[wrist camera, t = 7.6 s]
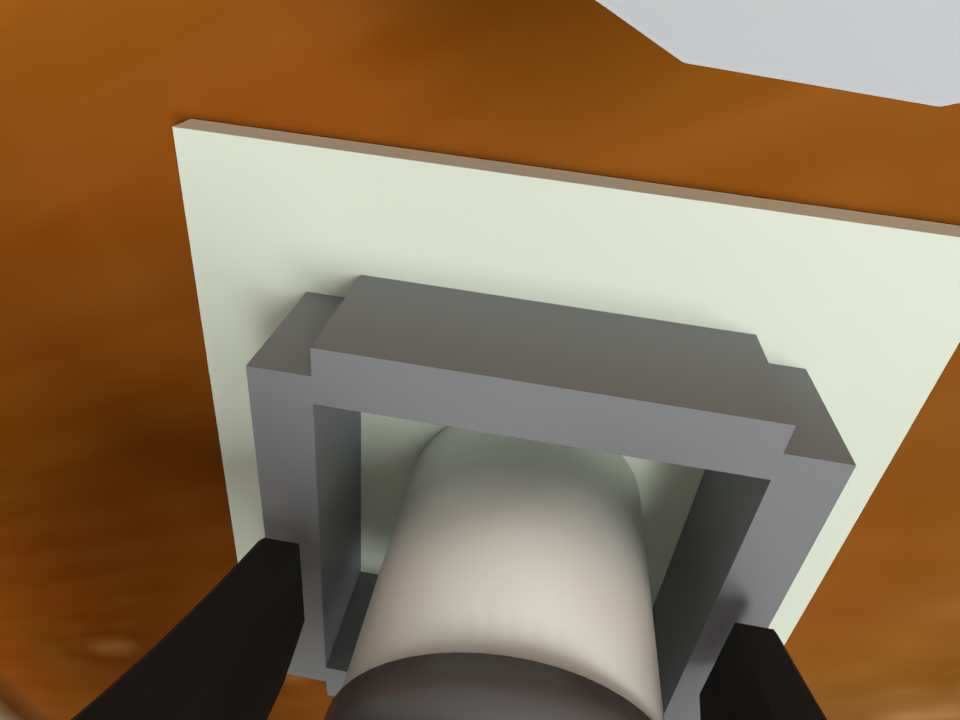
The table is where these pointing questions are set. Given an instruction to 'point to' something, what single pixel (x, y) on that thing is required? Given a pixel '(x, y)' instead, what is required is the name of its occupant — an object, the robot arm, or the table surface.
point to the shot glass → (815, 41)
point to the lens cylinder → (509, 591)
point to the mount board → (555, 362)
